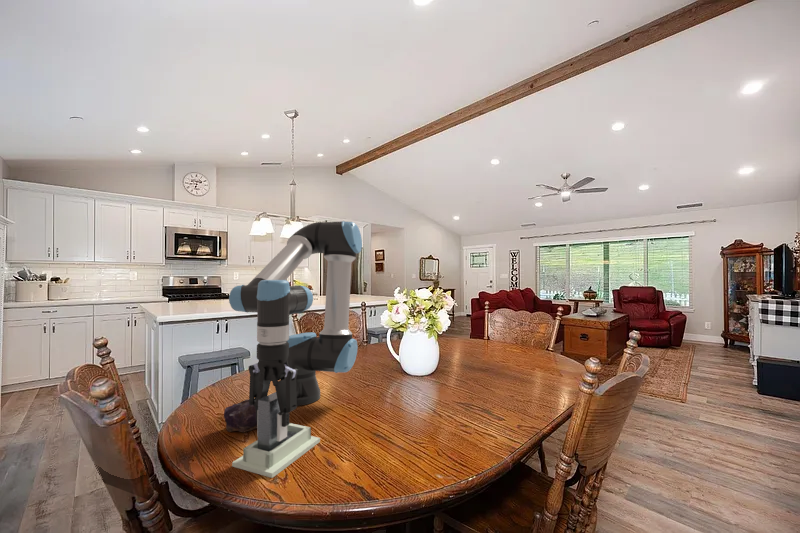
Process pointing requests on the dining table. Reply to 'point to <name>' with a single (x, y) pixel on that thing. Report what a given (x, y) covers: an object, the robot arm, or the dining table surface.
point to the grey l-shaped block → (269, 423)
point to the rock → (240, 417)
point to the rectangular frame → (277, 453)
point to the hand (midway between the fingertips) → (272, 436)
